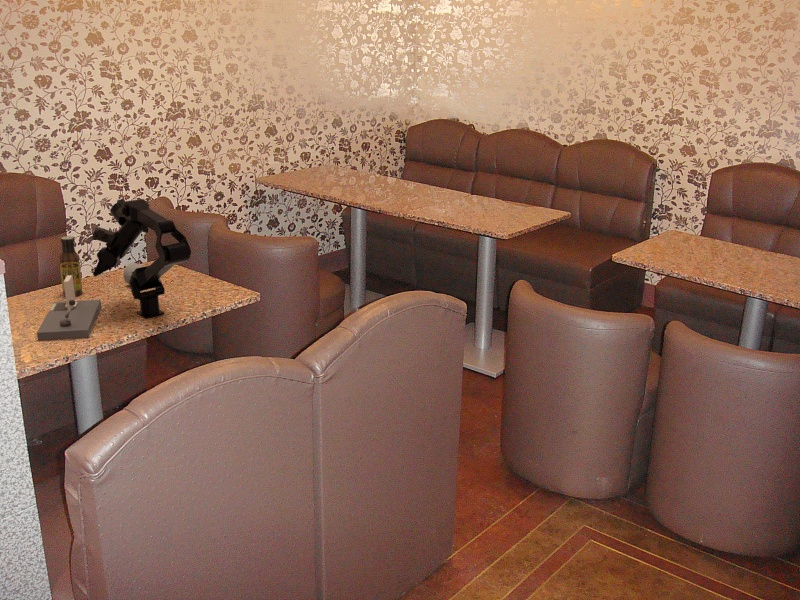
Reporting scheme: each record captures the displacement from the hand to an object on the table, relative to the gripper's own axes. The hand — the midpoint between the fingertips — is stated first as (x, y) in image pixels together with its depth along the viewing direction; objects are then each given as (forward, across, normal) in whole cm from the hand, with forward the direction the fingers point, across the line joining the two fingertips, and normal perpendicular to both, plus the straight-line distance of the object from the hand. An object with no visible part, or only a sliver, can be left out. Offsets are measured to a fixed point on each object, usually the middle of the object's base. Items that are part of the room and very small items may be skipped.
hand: (97, 272), depth 249 cm
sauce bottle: (+18, -17, -2) cm, 25 cm away
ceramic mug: (+3, -26, +14) cm, 30 cm away
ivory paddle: (+14, +1, 0) cm, 14 cm away
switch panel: (+15, +9, +4) cm, 18 cm away
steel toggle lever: (+11, +17, +2) cm, 20 cm away
